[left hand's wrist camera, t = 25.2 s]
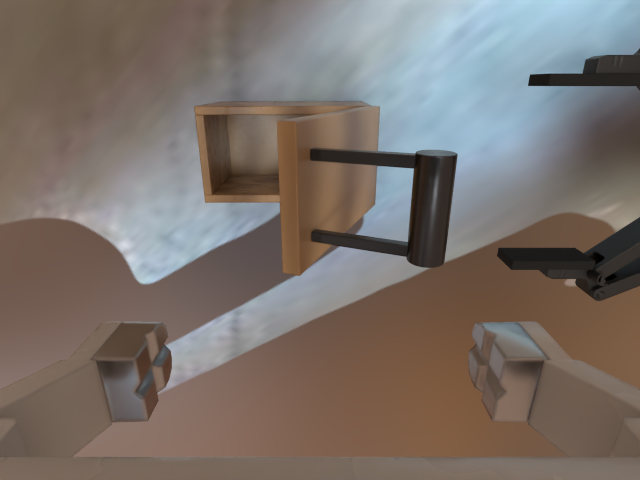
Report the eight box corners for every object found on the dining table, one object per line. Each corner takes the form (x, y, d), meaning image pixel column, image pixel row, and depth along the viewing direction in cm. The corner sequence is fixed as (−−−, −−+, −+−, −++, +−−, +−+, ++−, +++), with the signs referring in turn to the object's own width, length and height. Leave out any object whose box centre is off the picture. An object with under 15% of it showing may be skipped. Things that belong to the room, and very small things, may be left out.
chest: (227, 179, 50) (204, 202, 40) (220, 101, 46) (193, 106, 36) (359, 178, 50) (368, 202, 40) (361, 101, 46) (372, 105, 36)
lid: (282, 273, 25) (436, 303, 21) (275, 120, 22) (457, 127, 18) (363, 203, 39) (462, 214, 36) (367, 105, 36) (477, 107, 33)
